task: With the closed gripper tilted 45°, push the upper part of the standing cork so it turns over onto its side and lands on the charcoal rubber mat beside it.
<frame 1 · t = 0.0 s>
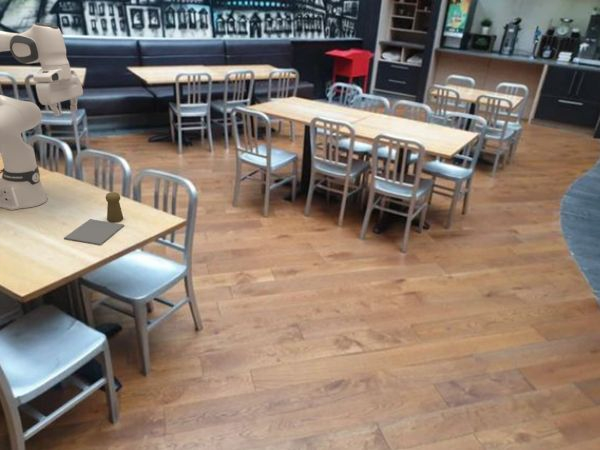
hand: (66, 113, 166), 39 cm above the table, tool pointing down, fingers open, 8 cm apart
rubber mat: (95, 232, 168), on the table
cork: (115, 219, 179), on the table
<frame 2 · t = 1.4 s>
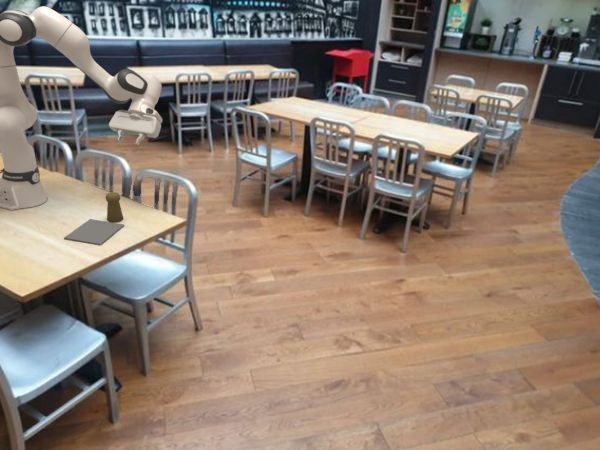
hand: (128, 142, 177), 28 cm above the table, tool tilted 45°, fingers open, 5 cm apart
nothing on the table moved.
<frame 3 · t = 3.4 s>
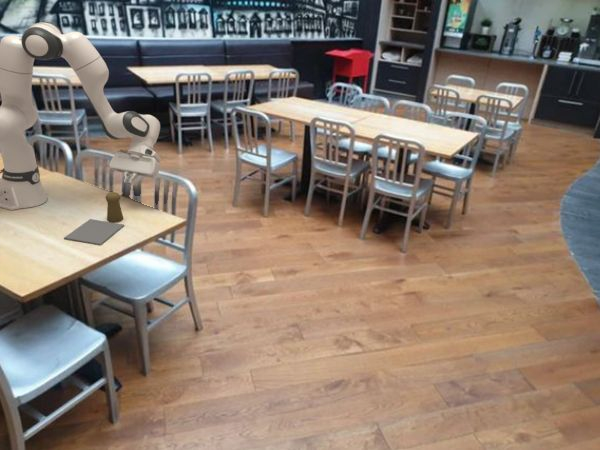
hand: (127, 183, 182), 12 cm above the table, tool tilted 45°, fingers closed
nothing on the table moved.
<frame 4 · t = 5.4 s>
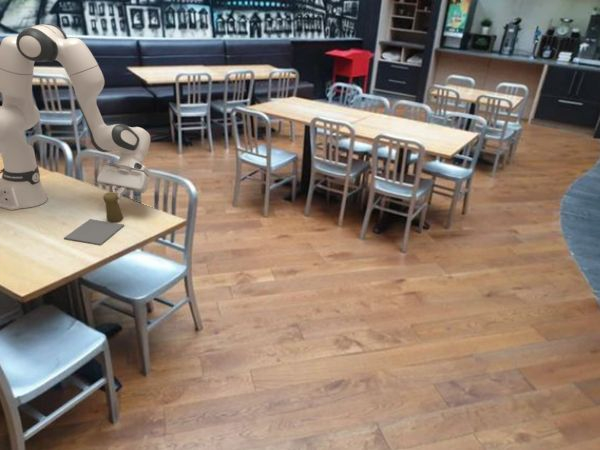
hand: (116, 197, 176), 8 cm above the table, tool tilted 45°, fingers closed
cork: (115, 218, 178), on the table, touching gripper
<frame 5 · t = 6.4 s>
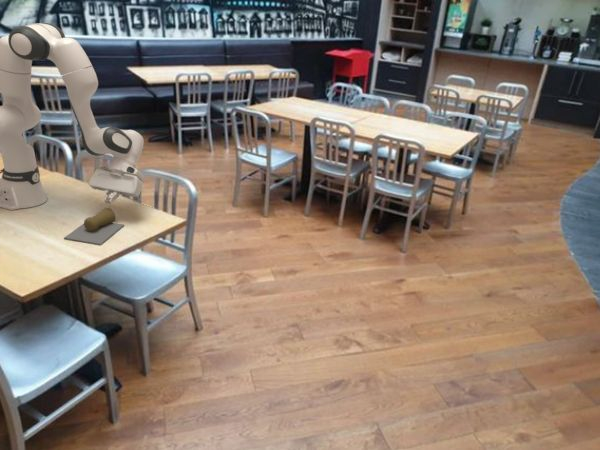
hand: (108, 202, 172), 8 cm above the table, tool tilted 45°, fingers closed
cork: (109, 214, 175), point 3 cm above the table, touching rubber mat
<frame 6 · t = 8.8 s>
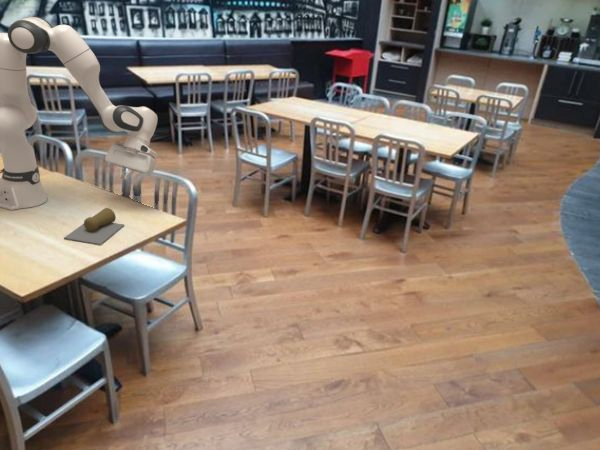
hand: (123, 179, 181), 13 cm above the table, tool tilted 35°, fingers closed
nothing on the table moved.
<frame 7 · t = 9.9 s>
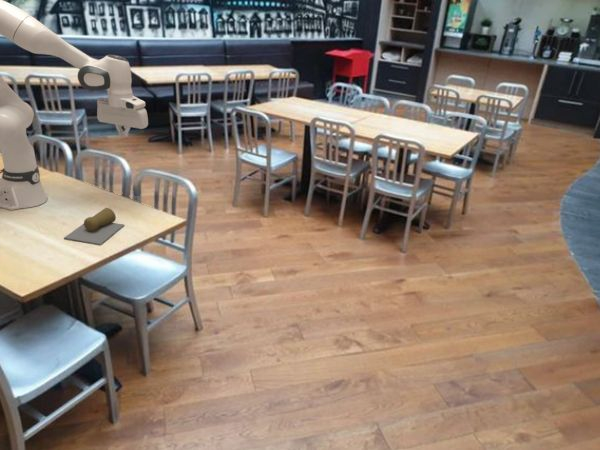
hand: (123, 136, 179), 29 cm above the table, tool pointing down, fingers closed
nothing on the table moved.
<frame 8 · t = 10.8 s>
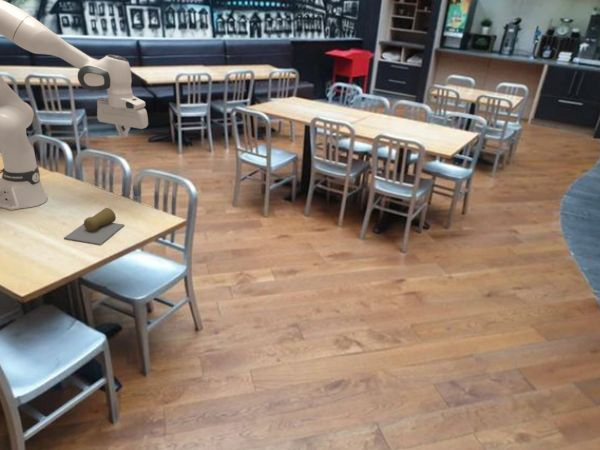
hand: (123, 136, 179), 29 cm above the table, tool pointing down, fingers closed
nothing on the table moved.
at the end: cork tilted 89°; cork touching rubber mat, table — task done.
